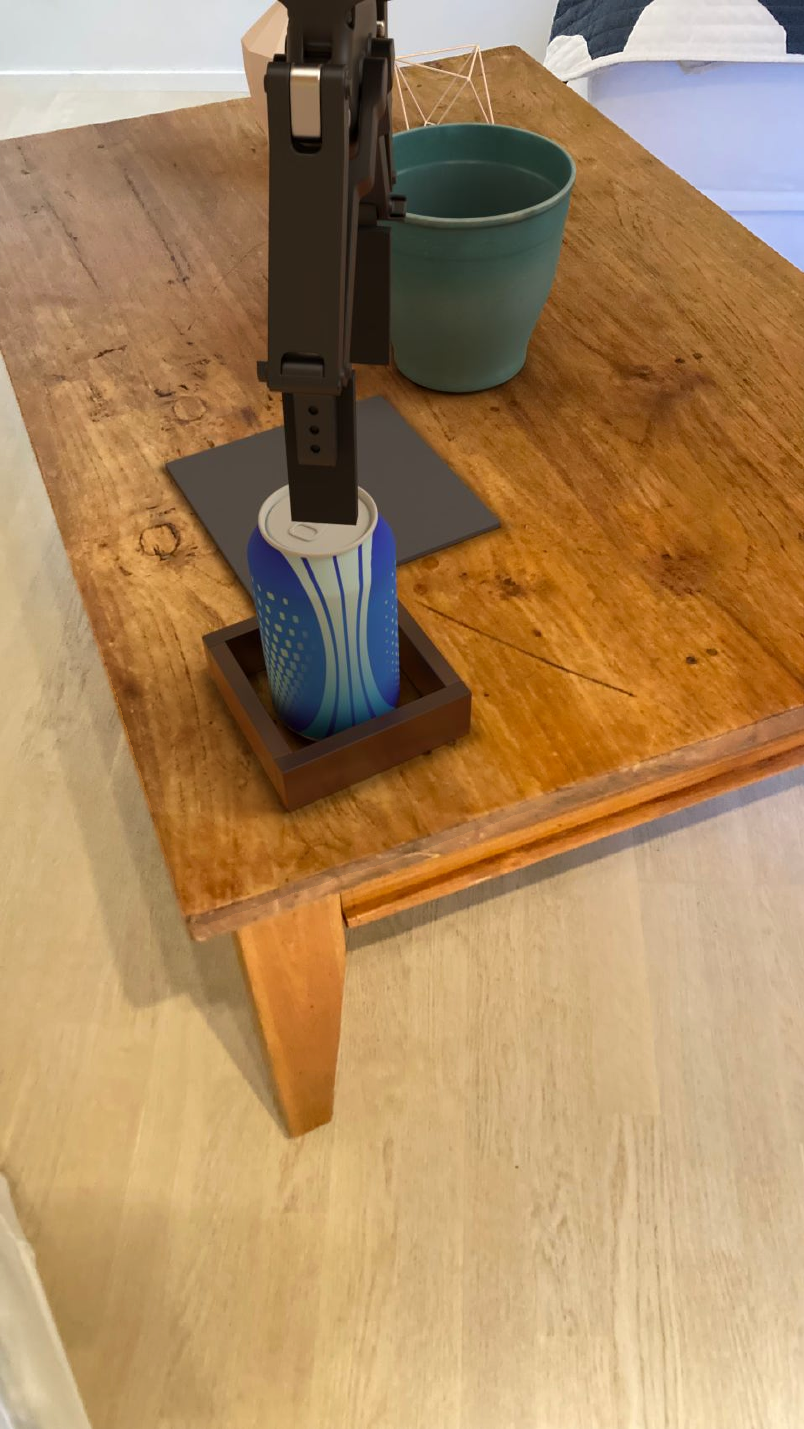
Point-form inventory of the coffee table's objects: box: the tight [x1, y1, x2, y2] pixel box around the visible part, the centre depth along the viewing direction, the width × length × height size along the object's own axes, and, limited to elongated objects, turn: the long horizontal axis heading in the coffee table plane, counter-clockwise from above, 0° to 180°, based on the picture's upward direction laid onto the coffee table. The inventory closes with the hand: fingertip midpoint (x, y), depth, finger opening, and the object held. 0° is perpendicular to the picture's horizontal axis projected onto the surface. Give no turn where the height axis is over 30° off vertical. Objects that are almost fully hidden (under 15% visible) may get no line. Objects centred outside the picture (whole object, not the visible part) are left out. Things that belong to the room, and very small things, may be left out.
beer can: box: [247, 484, 401, 743], centre depth 64 cm, size 8×8×16 cm
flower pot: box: [380, 122, 577, 393], centre depth 90 cm, size 18×18×17 cm
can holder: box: [201, 597, 473, 813], centre depth 69 cm, size 13×13×4 cm
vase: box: [240, 0, 288, 144], centre depth 113 cm, size 14×14×25 cm
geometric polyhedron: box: [394, 43, 495, 130], centre depth 124 cm, size 12×11×9 cm
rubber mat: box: [164, 393, 502, 605], centre depth 84 cm, size 20×20×1 cm
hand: (346, 432), depth 49 cm, fingers open, 13 cm apart
